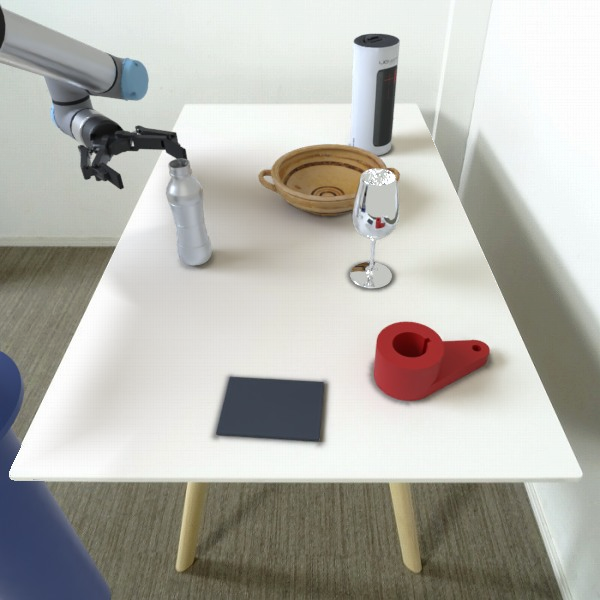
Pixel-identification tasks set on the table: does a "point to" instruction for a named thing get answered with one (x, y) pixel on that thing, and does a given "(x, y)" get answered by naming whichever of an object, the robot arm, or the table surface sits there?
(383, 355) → the lever
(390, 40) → the speaker
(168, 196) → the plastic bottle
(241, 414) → the mat
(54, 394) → the table surface
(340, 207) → the ceramic bowl
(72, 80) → the robot arm
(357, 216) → the wineglass
